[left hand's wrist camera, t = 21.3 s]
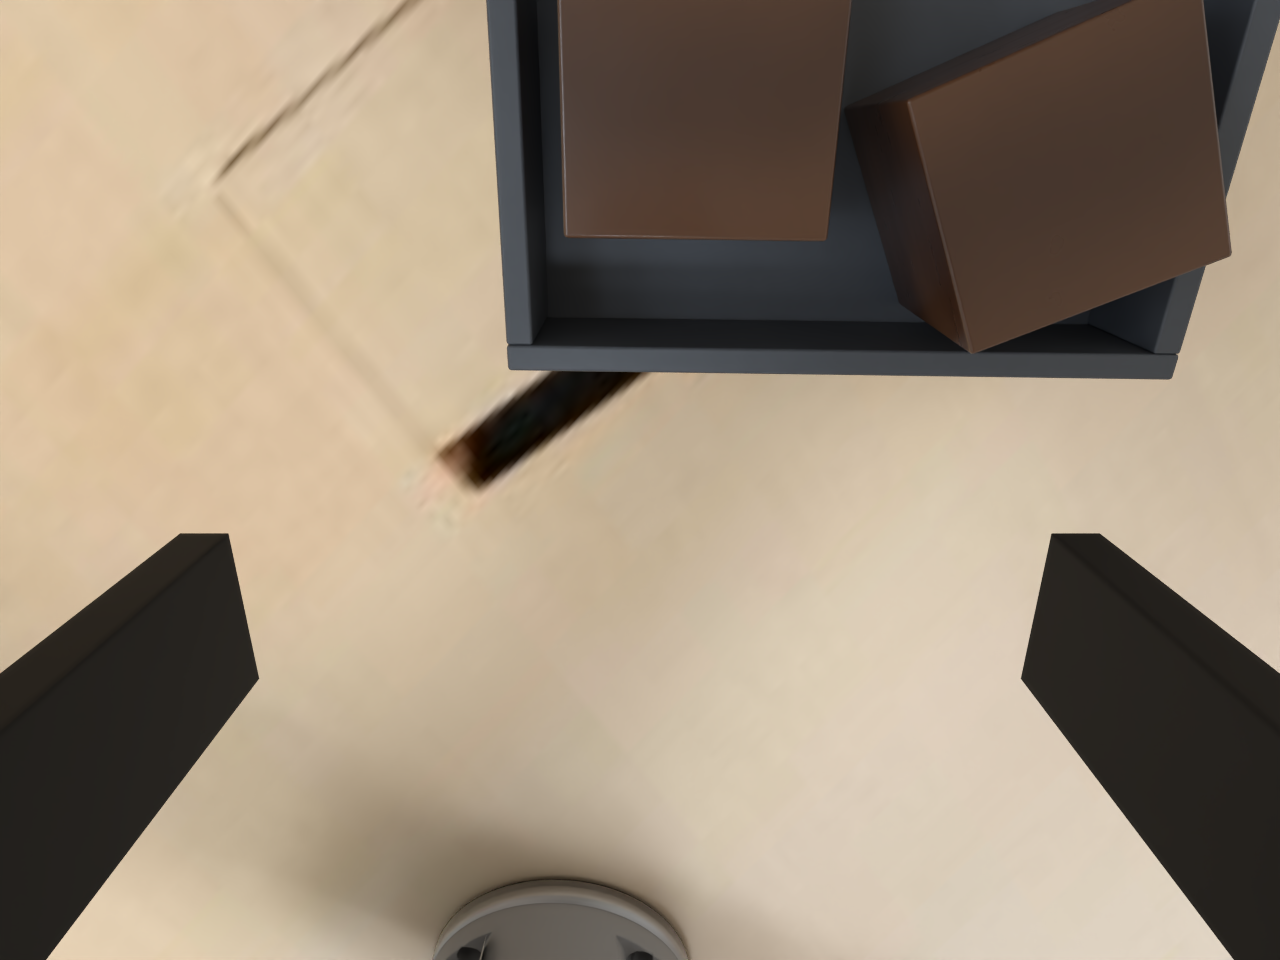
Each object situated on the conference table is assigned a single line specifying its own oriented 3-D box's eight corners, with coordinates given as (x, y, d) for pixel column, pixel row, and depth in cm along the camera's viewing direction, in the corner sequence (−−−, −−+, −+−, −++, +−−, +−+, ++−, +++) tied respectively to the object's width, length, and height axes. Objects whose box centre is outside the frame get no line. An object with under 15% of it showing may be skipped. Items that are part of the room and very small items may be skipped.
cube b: (785, 215, 19) (827, 241, 15) (583, 212, 19) (563, 238, 15) (805, -22, 17) (861, -77, 13) (579, -25, 17) (554, -80, 13)
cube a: (1096, 226, 19) (1234, 256, 15) (898, 305, 20) (971, 356, 16) (1057, 11, 17) (1202, -31, 13) (842, 107, 18) (906, 100, 14)
